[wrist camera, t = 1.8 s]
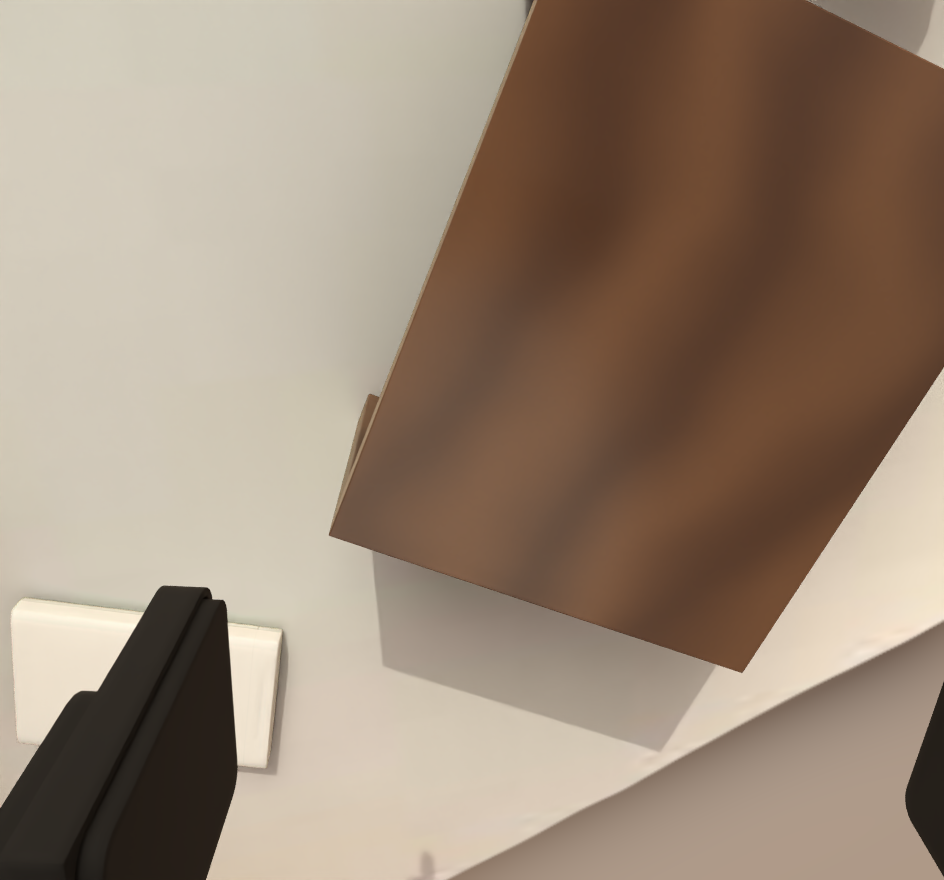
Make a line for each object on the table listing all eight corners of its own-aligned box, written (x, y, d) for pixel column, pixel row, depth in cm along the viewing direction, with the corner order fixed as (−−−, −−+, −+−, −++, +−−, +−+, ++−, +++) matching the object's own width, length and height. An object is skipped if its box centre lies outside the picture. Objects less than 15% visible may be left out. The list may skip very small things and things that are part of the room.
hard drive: (25, 592, 41) (284, 625, 42) (31, 723, 44) (271, 751, 45) (9, 612, 39) (278, 646, 40) (16, 746, 42) (265, 774, 44)
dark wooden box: (357, 422, 38) (328, 536, 28) (541, -58, 30) (580, -112, 21) (675, 536, 40) (742, 673, 31) (914, 122, 33) (1092, 142, 24)
